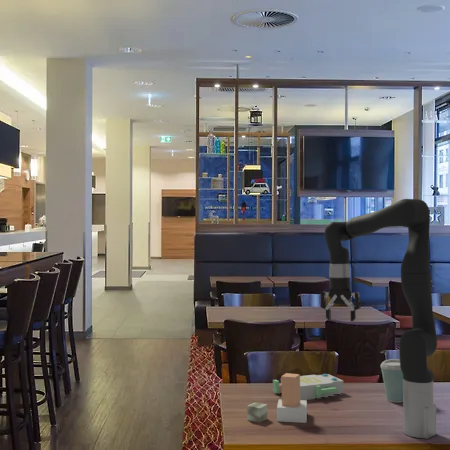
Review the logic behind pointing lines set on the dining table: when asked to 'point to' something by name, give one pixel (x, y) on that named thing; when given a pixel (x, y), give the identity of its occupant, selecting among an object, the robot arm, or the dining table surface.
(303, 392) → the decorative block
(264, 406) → the sage cube
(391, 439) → the dining table surface
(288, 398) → the terracotta block
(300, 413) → the grey base block
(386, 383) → the disposable coffee cup
